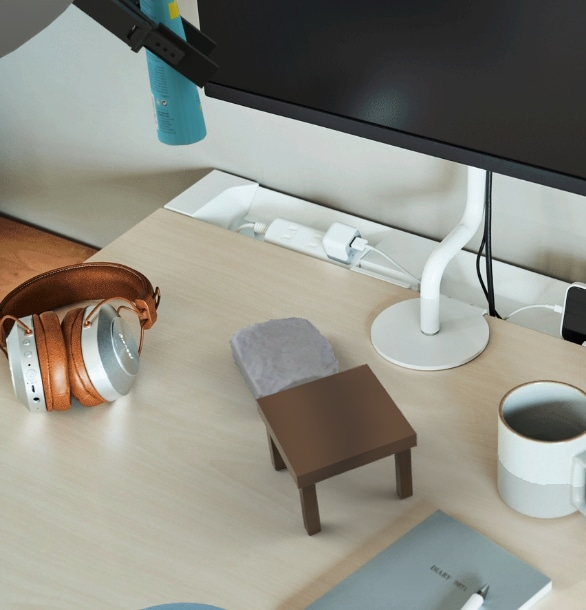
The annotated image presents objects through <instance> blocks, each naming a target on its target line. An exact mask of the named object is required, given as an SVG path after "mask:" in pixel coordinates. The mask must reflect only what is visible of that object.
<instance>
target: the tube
mask: <svg viewBox="0 0 586 610" xmlns="http://www.w3.org/2000/svg"><path fill="white" fill-rule="evenodd" d="M177 3H178V2H177V0H140V8H141V11H142V12H144V13H145V14H146V15H147V16H148V17H149V18H150V19H152V20H154V21H155V22H156V24H157V25H158V24H159V23H160V22H161V23H162V24H164V25H165V26H166V27H168V28H169V29H170V30H172V31H173V32H174V33H176V34H177V35H178V36H180V37H181V38H182V39H184V40H185V41H186V37H185V33H184V29H183V25H182V21H181V17H180V15H181V13H180V9H179V6H178V4H177ZM186 42H187V41H186ZM145 56H146V65H147V71H148V79H149V86H150V94H151V101H152V109H153V114H154V115H153V116H154V121H155V129H156V134H157V139H158V141H159V142H160V143H162V144H164V145H166V146H172V147H173V146H190V145H194V144H196V143H199V142H201V141H203V140H204V139H205V138H206V137H207V134H208V133H207V126H206V122H205V117H204V112H203V107H202V103H201V99H200V94H199V89H198V86H197V85H195V84H194V83H193V82H191V81H190V80H188V79H187V78H186V77H184V76H183V75H182V74H180V73H179V72H177V71H176V70H175V69H173V68H172V67H171V66H169V65H168V64H166V63H165V62H164V61H162V60H161V59H159V58H158V57H157V56H155V55H154V54H153V53H151V52H150V51H148V50H147V49H146V48H145Z"/></svg>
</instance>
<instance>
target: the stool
mask: <svg viewBox="0 0 586 610" xmlns="http://www.w3.org/2000/svg"><path fill="white" fill-rule="evenodd" d="M255 405H256V410H257V413H258V414H259V416H260V418H261V421H262V422H263V423H264V427H265V430H266V436H267V443H268V449H269V456H270V462H271V465H272V466H273V468H274V470H275V471H279V470H282V469H284V468H287V470H288V472H289V474H290V475H291V478H292V480H293V481H294V484H295V486H296V488H297V489H298V493H299V500H300V508H301V513H302V521H303V527H304V530H305V531H306V533H307V535H308V537H310V536H312V535H315V534H318V533H320V532H322V526H321V518H320V510H319V503H318V495H317V487H316V486H317V485H316V484H318V483H320V482H322V481H325V480H328V479H331V478H333V477H336V476H338V475H342V474H344V473H348V472H349V471H350V472H351V471H353V470H355V469H358V468H361V467H364V466H366V465H369V464H372V463H374V462H377V461H380V460H382V459H385V458H389V457H391V456H394V472H395V485H396V486H395V488H396V493H397V495H398V496H399V498H400V499H401V500H404V499H407V498H410V497H412V496H413V495H414V493H413V492H414V488H413V487H414V486H413V466H412V463H413V461H412V448H415V447H417V446H418V437H417V436H418V434H417V432H416V431H415V429H414V427H413V426H412V425H411V423H410V422H409V421H408V419H407V418H406V416H405V415H404V414H403V413H402V411H401V410H400V408H399V406H398V405H397V404H396V403H395V400H393V398H392V396H391V395H390V393H388V391H387V389H386V388H385V386H384V385H383V384H382V383H381V381H380V380H379V378H378V377H377V376H376V374H375V373H374V371H373V370H372V368H371V367H370V366H369V364H368V363H365V364H364V363H363V364H361V365H358V366H355V367H352V368H349V369H346V370H342V371H339V373H336V374H333V375H330V376H327V377H324V378H321V379H317V380H314V381H311V382H308V383H305V384H302V385H299V386H296V387H292V388H289V389H286V390H283V391H280V392H277V393H274V394H271V395H268V396H264V397H261V398H258V399H255Z"/></svg>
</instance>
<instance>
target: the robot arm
mask: <svg viewBox="0 0 586 610" xmlns="http://www.w3.org/2000/svg"><path fill="white" fill-rule="evenodd" d="M71 5H74V6H75V7H76V8H77V9H79V11H81V12H83V13H84V14H85V15H87V16H88V17H89V18H90V19H92V20H94V22H96V23H97V24H99V25H100V26H102V28H104V29H106V30H107V31H109V33H110V34H112V35H113V36H115V37H116V38H118V39H119V40H120V41H122V42H123V43H124V44H125V45H126V46H128V47H129V48H130V51H132V52H134V53H136V54H138V53H139V52H140V51H141V50H142V49H143V48H146V49H147V50H148V51H150V52H151V53H153V54H154V55H155V56H157V57H158V58H159V59H161V60H162V61H164V62H165V63H166V64H168V65H169V66H171V67H172V68H173V69H175V70H176V71H177V72H179V73H180V74H182V75H183V76H184V77H186V78H187V79H188V80H190V81H191V82H193V83H194V84H195V85H197V88H200V90H202V89H203V88H204V87H205V86H206V85H207V84H208V82H209V81H210V80H211V78H212V77H213V76H214V75H215V74H216V73H217V71H218V70H219V69H220V66H219V65H218V63H216V62H214V60H211V58H209V55H210V54H211V53H212V52H213V51H214V49H215V48H216V47H217V42H216V41H215V40H213V39H212V38H210V37H209V36H208V35H207V34H206V33H204V32H203V31H201V30H200V29H199V28H197V27H196V26H195V25H194V24H193V23H191V22H189V21H188V20H187V19H186V18H185V17H183V16H182V15H181V14H180V17H181V21H182V25H183V29H184V33H185V37H186V41H187V42H186V41H185V40H184V39H182V38H181V37H180V36H178V35H177V34H176V33H174V32H173V31H172V30H170V29H169V28H168V27H166V26H165V25H164V24H162V23H161V22H160V23H159V24H158V25H157V24H156V22H155V21H154V20H152V19H150V18H149V17H148V16H147V15H146V14H145V13H144V12H142V11H141V8H140V0H0V59H2V58H3V57H7V55H9V54H11V53H13V52H15V51H16V50H18V49H19V48H20V47H21V46H23V45H25V44H26V43H28V42H29V41H31V40H32V39H33V38H34V37H35V36H37V35H38V34H39V33H41V32H43V31H44V30H45V29H47V28H48V27H49V26H50V25H51V24H52V23H54V21H56V20H57V19H58V18H59V17H60V16H62V14H63V13H65V12H66V11H67V9H68V8H69V7H70V6H71ZM146 49H145V50H146ZM140 610H227V609H226V608H223V607H220V606H217V605H214V604H213V605H212V604H207V603H200V602H169V603H162V604H156V605H152V606H148V607H144V608H140Z"/></svg>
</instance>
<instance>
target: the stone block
mask: <svg viewBox="0 0 586 610" xmlns="http://www.w3.org/2000/svg"><path fill="white" fill-rule="evenodd" d="M229 344H230V349H231V352H232V353H231V355H232V356H231V357H232V358H233V360H234V362H235V364H236V366H237V368H238V370H239V371H240V373H241V376H242V377H243V379H244V381H245V383H246V385H247V386H248V389H249V390H250V392H251V394H252V395H253V397H254V399H255V400H256V399H258V398H261V397H264V396H268V395H271V394H274V393H277V392H280V391H283V390H286V389H289V388H292V387H296V386H299V385H302V384H305V383H308V382H311V381H314V380H317V379H321V378H324V377H327V376H330V375H333V374H336V373H339V372H340V369H339V367H340V363H339V360H338V359H337V358H335V357H336V356H335V352H334V349H333V347H332V345H331V344H330V341H329V339H327V338H326V336H325V335H323V334H322V333H321V332H320V329H318V328H317V327H316V326H315V325H314V324H313V323H312V322H311V321H310V320H309V319H307V318H302V317H296V316H292V317H287V318H286V317H285V318H284V317H283V318H278V319H277V318H275V319H274V318H273V319H272V318H271V319H269V320H267V321H263V322H256V323H253V324H249V325H247V326H245V327H242V328H240V329H238V330H237V331H235V333H233V334H231V337H230V338H229Z"/></svg>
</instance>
